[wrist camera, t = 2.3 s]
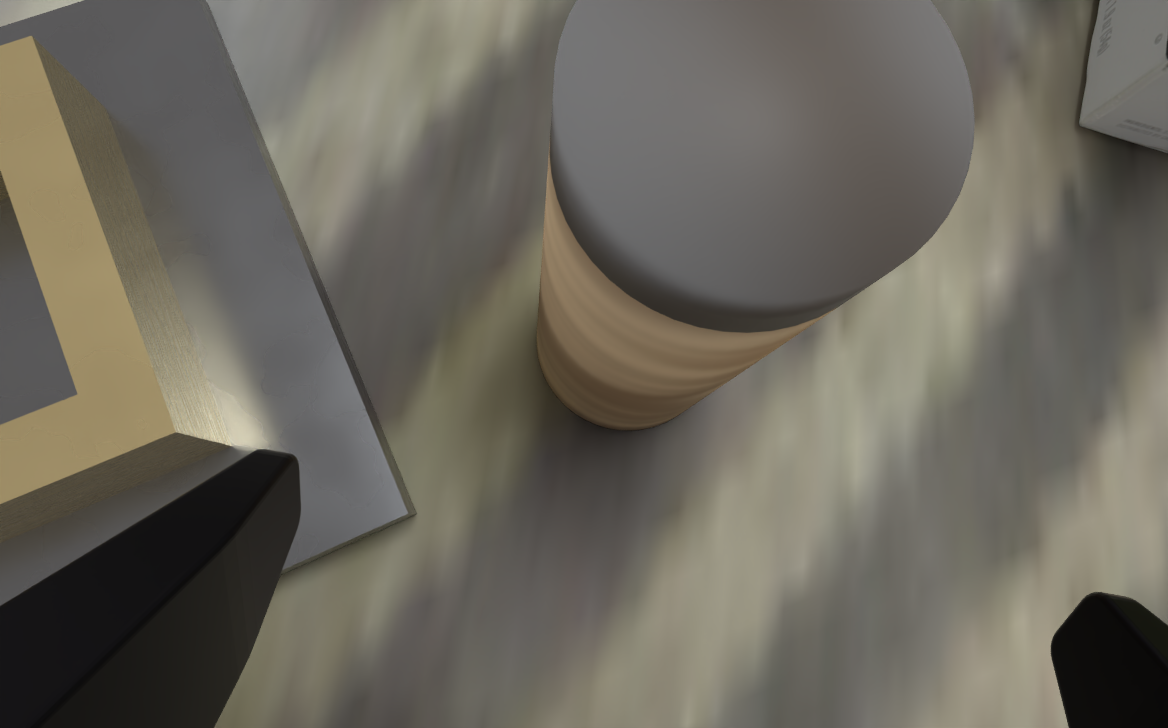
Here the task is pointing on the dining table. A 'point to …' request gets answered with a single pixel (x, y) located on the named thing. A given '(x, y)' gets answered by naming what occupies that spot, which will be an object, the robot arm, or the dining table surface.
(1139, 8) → the tea box
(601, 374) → the tan cylinder
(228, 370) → the socket
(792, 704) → the dining table surface
